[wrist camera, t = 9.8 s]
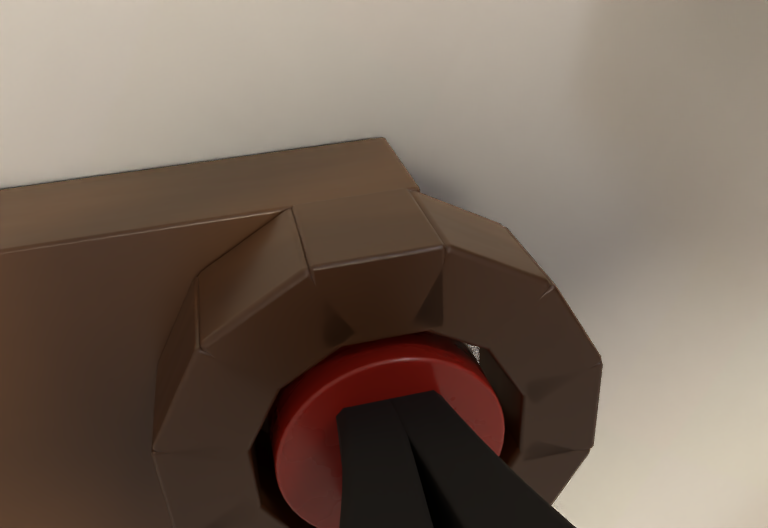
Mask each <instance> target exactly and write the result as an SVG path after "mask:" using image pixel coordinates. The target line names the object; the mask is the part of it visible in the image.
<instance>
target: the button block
mask: <svg viewBox="0 0 768 528" xmlns="http://www.w3.org/2000/svg"><path fill="white" fill-rule="evenodd" d="M424 331H427V332H431V333H434V334H437V335H441V336H444V337H447V338H451V339H454V340H457V341H461V342H464V343H467V344H471V345H474V346H477V347H479V365H480V367H481V369H482V370H483V372H484V374H485V376H486V378H487V379H488V381H489V383H490V385H491V386H492V388H493V390H494V392H495V393H496V395H497V397H498V399H499V402H500V404H501V406H502V410H503V415H504V424H505V432H504V441H503V446H502V449H501V453H500V456H499V457H500V458H501V459H502V460H503V461H504V462H505V463H506V464H507V465H508V466H509V467H510V468H511V469H512V470H513V471H514V472H515V473H516V474H517V475H518V476H519V477H520V478H522V479H523V480H524V481H525V482H526V483H527V484H528V485H529V486H530V487H531V488H532V489H533V490H534V491H536V492H537V493H538V494H539V495H540V496H541V497H542V498H543V499H544V500H545V501H546V502H547V503H548V504H550V505H552V504H553V502H554V501H555V500H556V498H557V497H558V496H559V494H560V493H561V491H562V490H563V489H564V487H565V486H566V484H567V483H568V482H569V480H570V479H571V477H572V476H573V475H574V473H575V472H576V471H577V469H578V468H579V466H580V465H581V464H582V462H583V461H584V459H585V458H586V457H587V455H588V454H589V452H590V448H592V447H593V446H594V437H595V428H596V420H597V411H598V402H599V393H600V385H601V376H602V367H603V364H602V360H601V355H600V354H599V352H598V351H597V349H596V347H595V346H594V344H593V343H592V341H591V340H590V338H589V336H588V335H587V333H586V332H585V330H584V329H583V327H582V325H581V324H580V322H579V321H578V319H577V318H576V316H575V314H574V313H573V311H572V310H571V308H570V307H569V305H568V303H567V302H566V300H565V299H564V297H563V296H562V294H561V292H560V291H559V289H558V288H557V286H556V285H555V284H554V282H553V281H552V280H551V279H550V278H549V276H548V275H547V274H546V273H545V272H544V271H543V269H542V268H541V267H540V266H539V265H538V264H537V262H536V261H535V260H534V259H533V258H532V257H531V255H530V254H529V253H528V252H527V251H526V250H525V248H524V247H523V246H522V245H521V244H520V242H519V241H518V240H517V239H516V238H515V237H514V235H513V234H512V233H511V232H510V231H509V230H508V228H506V227H503V226H502V225H501V224H500V223H497V222H495V221H492V220H490V219H487V218H484V217H482V216H479V215H477V214H474V213H471V212H469V211H466V210H464V209H461V208H459V207H456V206H453V205H451V204H448V203H446V202H443V201H441V200H438V199H435V198H433V197H430V196H428V195H425V194H422V193H420V189H419V187H418V185H417V184H416V182H415V181H414V180H413V178H412V177H411V175H410V174H409V172H408V171H407V169H406V168H405V167H404V165H403V164H402V162H401V161H400V159H399V158H398V156H397V155H396V153H395V152H394V151H393V149H392V148H391V146H390V145H389V143H388V142H387V140H386V139H385V138H383V137H381V138H374V139H367V140H359V141H352V142H345V143H337V144H330V145H323V146H316V147H308V148H301V149H294V150H286V151H279V152H272V153H265V154H257V155H250V156H243V157H235V158H228V159H221V160H214V161H206V162H199V163H192V164H184V165H177V166H170V167H163V168H155V169H148V170H141V171H133V172H126V173H119V174H112V175H104V176H97V177H90V178H82V179H75V180H68V181H61V182H53V183H46V184H39V185H31V186H24V187H17V188H9V189H2V190H0V528H317V527H315V526H313V525H311V524H309V523H308V522H306V521H305V520H303V519H302V518H301V517H299V516H298V515H297V514H296V513H295V512H294V511H293V510H292V509H291V507H290V506H289V505H288V503H287V502H286V501H285V499H284V498H283V496H282V494H281V492H280V490H279V487H278V483H277V480H276V475H275V468H274V460H273V453H272V446H271V439H270V431H269V424H268V417H267V415H268V413H269V411H270V409H271V407H272V405H273V403H274V401H275V399H276V397H277V395H278V393H279V391H280V390H281V389H282V388H283V387H285V386H286V385H288V384H289V383H291V382H292V381H294V380H295V379H296V378H298V377H299V376H301V375H302V374H304V373H305V372H306V371H308V370H309V369H311V368H312V367H314V366H315V365H317V364H318V363H319V362H321V361H322V360H324V359H325V358H327V357H328V356H329V355H331V354H332V353H334V352H335V351H337V350H338V349H340V348H341V347H343V346H348V345H354V344H359V343H365V342H370V341H375V340H381V339H386V338H392V337H397V336H402V335H408V334H413V333H419V332H424Z"/></svg>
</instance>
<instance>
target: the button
mask: <svg viewBox="0 0 768 528" xmlns="http://www.w3.org/2000/svg"><path fill="white" fill-rule="evenodd" d="M431 390H434V391H436V392H437V393H439V394H440V395H442V397H443V398H444V399H445V400H446V401H447V402H448V403H449V405H450V406H451V407H452V408H453V409H454V410H455V411H456V412H457V413H458V415H459V416H460V417H461V418H462V419H463V420H464V421H465V422H466V423H467V424H468V425H469V426H470V428H471V429H472V430H473V431H474V432H475V433H476V434H477V435H478V436H479V437H480V438H481V439H482V440H483V441H484V442H485V443H486V444H487V445H488V446H489V447H490V448H491V449H492V450H493V451H494V452H495V453H496V454H497V455H498V456H500V453H501V449H502V446H503V441H504V432H505V424H504V415H503V410H502V406H501V404H500V402H499V399H498V397H497V395H496V393H495V392H494V390H493V388H492V386H491V385H490V383H489V381H488V379H487V378H486V376H485V374H484V372H483V370H482V369H481V367H480V365H479V363H478V362H477V360H476V358H475V356H474V355H473V353H472V351H471V349H470V348H469V346H468V344H467V343H464V342H461V341H457V340H454V339H451V338H447V337H444V336H441V335H437V334H434V333H431V332H427V331H424V332H419V333H413V334H408V335H402V336H397V337H392V338H386V339H381V340H375V341H370V342H365V343H359V344H354V345H348V346H343V347H341V348H340V349H338V350H337V351H335V352H334V353H332V354H331V355H329V356H328V357H327V358H325V359H324V360H322V361H321V362H319V363H318V364H317V365H315V366H314V367H312V368H311V369H309V370H308V371H306V372H305V373H304V374H302V375H301V376H299V377H298V378H296V379H295V380H294V381H292V382H291V383H289V384H288V385H286V386H285V387H283V388H282V389H281V390H280V391H279V393H278V395H277V397H276V399H275V401H274V403H273V405H272V407H271V409H270V411H269V413H268V415H267V417H268V424H269V431H270V439H271V446H272V453H273V460H274V468H275V475H276V480H277V483H278V487H279V490H280V492H281V494H282V496H283V498H284V499H285V501H286V502H287V503H288V505H289V506H290V507H291V509H292V510H293V511H294V512H295V513H296V514H297V515H298V516H299V517H301V518H302V519H303V520H305V521H306V522H308V523H309V524H311V525H313V526H315V527H317V528H339V525H340V512H341V499H342V463H341V455H340V446H339V438H338V430H337V421H336V416H337V415H338V414H339V412H340V411H341V410H342V409H343V408H346V407H351V406H356V405H361V404H366V403H371V402H376V401H381V400H386V399H391V398H396V397H401V396H406V395H411V394H416V393H421V392H426V391H431Z"/></svg>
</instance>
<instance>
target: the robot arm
mask: <svg viewBox="0 0 768 528" xmlns="http://www.w3.org/2000/svg"><path fill="white" fill-rule="evenodd" d="M336 421H337V430H338V438H339V446H340V455H341V463H342V499H341V512H340V525H339V528H576V527H575V526H573V525H572V524H571V523H570V522H569V521H568V520H567V519H565V518H564V517H563V516H562V515H561V514H560V513H559V512H557V511H556V510H555V509H554V508H553V507H552V506H551V505H550V504H548V503H547V502H546V501H545V500H544V499H543V498H542V497H541V496H540V495H539V494H538V493H537V492H536V491H534V490H533V489H532V488H531V487H530V486H529V485H528V484H527V483H526V482H525V481H524V480H523V479H522V478H520V477H519V476H518V475H517V474H516V473H515V472H514V471H513V470H512V469H511V468H510V467H509V466H508V465H507V464H506V463H505V462H504V461H503V460H502V459H501V458H500V457H499V456H498V455H497V454H496V453H495V452H494V451H493V450H492V449H491V448H490V447H489V446H488V445H487V444H486V443H485V442H484V441H483V440H482V439H481V438H480V437H479V436H478V435H477V434H476V433H475V432H474V431H473V430H472V429H471V428H470V426H469V425H468V424H467V423H466V422H465V421H464V420H463V419H462V418H461V417H460V416H459V415H458V413H457V412H456V411H455V410H454V409H453V408H452V407H451V406H450V405H449V403H448V402H447V401H446V400H445V399H444V398H443V397H442V395H440V394H439V393H437V392H436V391H434V390H431V391H426V392H421V393H416V394H411V395H406V396H401V397H396V398H391V399H386V400H381V401H376V402H371V403H366V404H361V405H356V406H351V407H346V408H343V409H342V410H341V411H340V412H339V414H338V415H337V416H336Z"/></svg>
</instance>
